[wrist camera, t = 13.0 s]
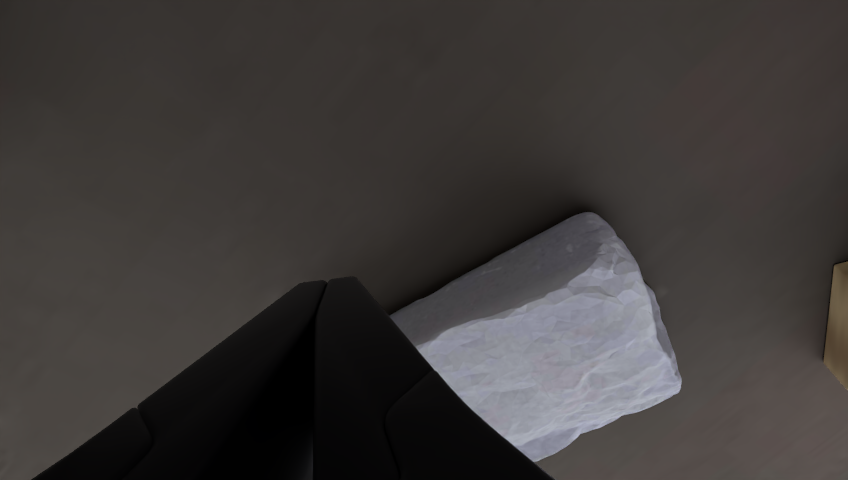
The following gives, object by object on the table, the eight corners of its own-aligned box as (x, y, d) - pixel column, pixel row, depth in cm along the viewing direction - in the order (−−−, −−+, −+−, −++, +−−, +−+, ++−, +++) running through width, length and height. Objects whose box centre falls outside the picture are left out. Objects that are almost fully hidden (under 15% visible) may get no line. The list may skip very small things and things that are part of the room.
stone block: (665, 313, 29) (593, 181, 23) (714, 402, 26) (646, 276, 20) (448, 413, 33) (332, 320, 26) (467, 503, 29) (338, 424, 23)
